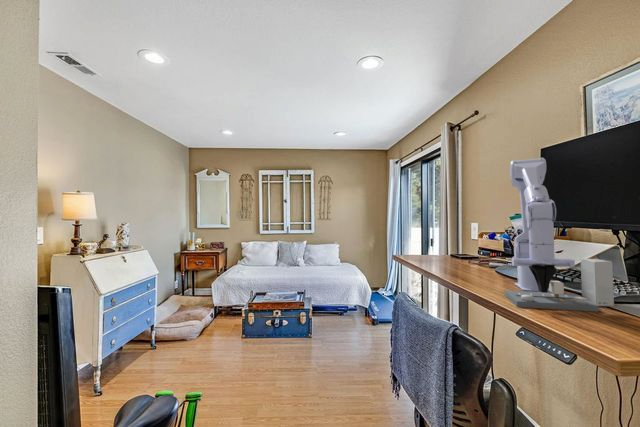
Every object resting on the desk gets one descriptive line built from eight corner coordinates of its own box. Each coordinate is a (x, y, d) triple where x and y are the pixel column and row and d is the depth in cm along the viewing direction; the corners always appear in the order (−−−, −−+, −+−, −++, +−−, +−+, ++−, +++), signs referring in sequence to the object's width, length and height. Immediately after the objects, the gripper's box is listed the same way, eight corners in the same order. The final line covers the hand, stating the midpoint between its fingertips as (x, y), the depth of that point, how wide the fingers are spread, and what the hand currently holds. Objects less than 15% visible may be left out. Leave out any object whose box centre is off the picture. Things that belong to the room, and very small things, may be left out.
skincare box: (615, 306, 78) (613, 261, 78) (596, 306, 79) (594, 261, 79) (598, 300, 84) (596, 258, 84) (581, 299, 85) (579, 258, 85)
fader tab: (549, 295, 85) (548, 280, 85) (558, 295, 84) (558, 280, 84) (554, 298, 82) (553, 283, 82) (564, 298, 81) (563, 283, 81)
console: (504, 295, 92) (504, 286, 92) (574, 298, 86) (574, 289, 87) (517, 306, 81) (516, 296, 81) (598, 311, 75) (598, 300, 75)
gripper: (516, 245, 82) (518, 294, 82) (579, 245, 78) (581, 296, 78) (508, 242, 89) (510, 287, 89) (566, 242, 85) (568, 290, 85)
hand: (543, 291), depth 84 cm, fingers closed
